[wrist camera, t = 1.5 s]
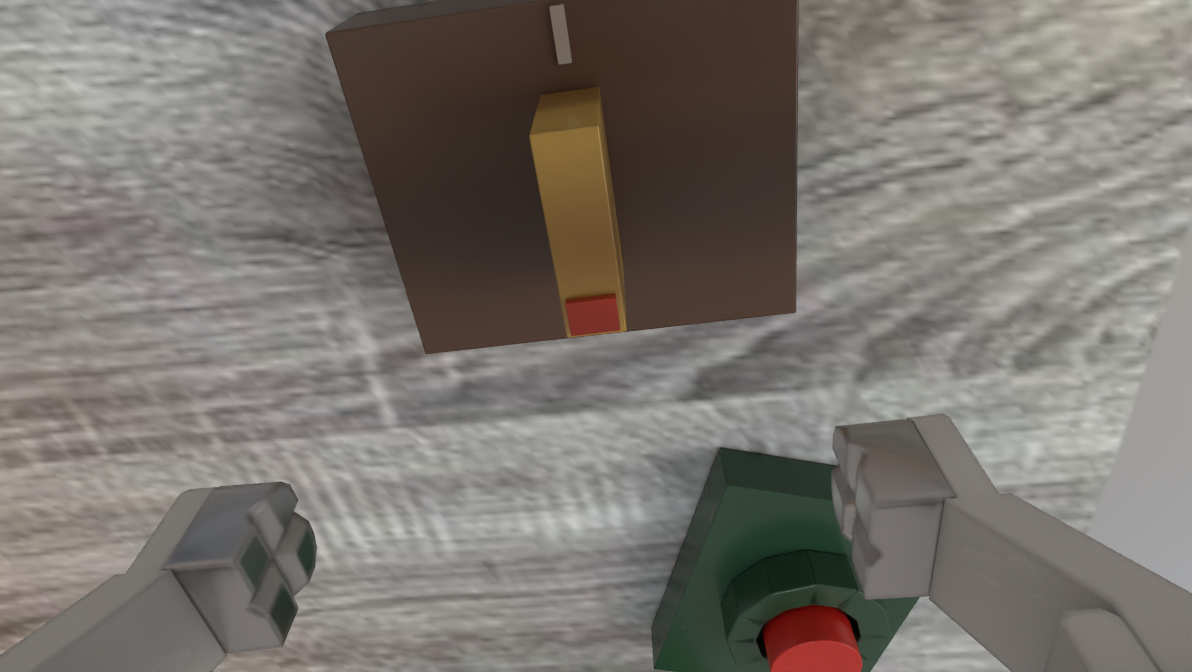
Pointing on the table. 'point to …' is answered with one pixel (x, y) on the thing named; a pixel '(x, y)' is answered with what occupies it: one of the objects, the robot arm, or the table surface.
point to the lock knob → (580, 210)
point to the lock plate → (634, 140)
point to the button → (811, 641)
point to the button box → (762, 568)
